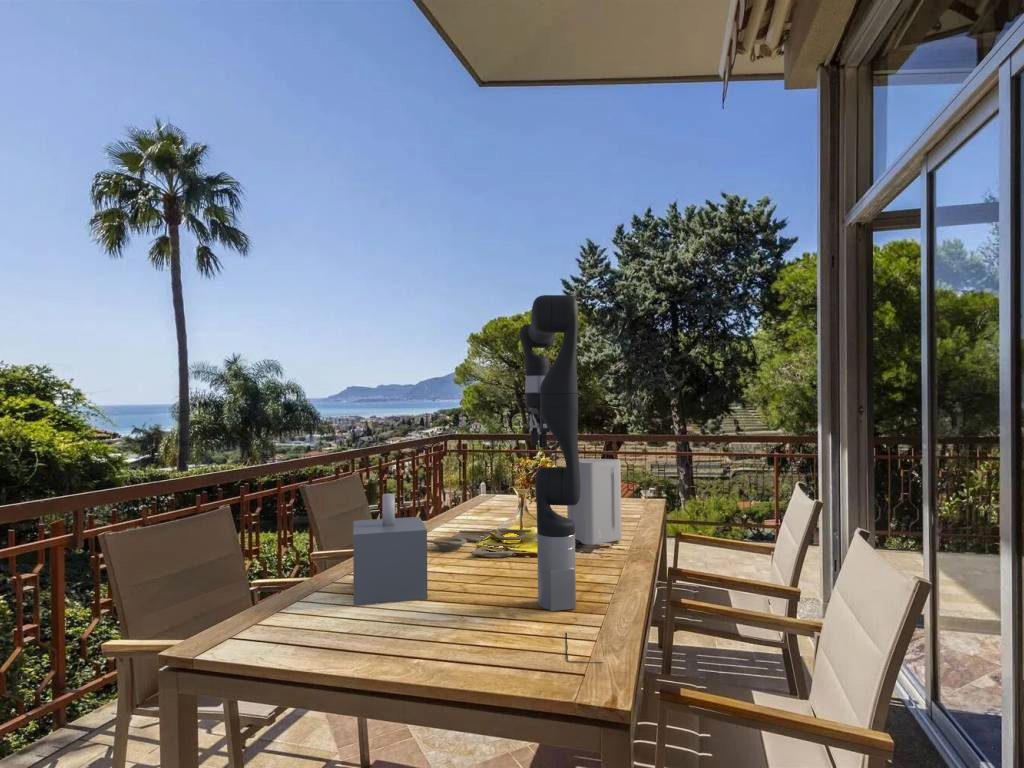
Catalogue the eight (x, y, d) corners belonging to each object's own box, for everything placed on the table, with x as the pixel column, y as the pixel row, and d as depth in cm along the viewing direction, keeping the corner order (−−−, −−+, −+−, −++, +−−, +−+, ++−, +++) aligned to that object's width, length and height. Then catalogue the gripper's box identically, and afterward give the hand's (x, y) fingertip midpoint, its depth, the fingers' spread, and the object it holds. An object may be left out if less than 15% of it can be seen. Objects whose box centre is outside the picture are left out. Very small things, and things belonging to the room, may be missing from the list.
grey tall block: (561, 543, 210) (560, 462, 211) (569, 534, 224) (568, 458, 225) (616, 546, 205) (615, 463, 206) (621, 536, 219) (620, 459, 220)
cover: (427, 599, 152) (426, 498, 153) (353, 605, 148) (353, 501, 148) (420, 578, 170) (419, 488, 170) (353, 584, 165) (353, 491, 166)
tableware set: (505, 562, 187) (505, 549, 188) (420, 555, 197) (420, 543, 197) (537, 538, 221) (537, 526, 221) (463, 533, 230) (463, 522, 230)
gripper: (519, 391, 185) (519, 445, 184) (532, 391, 171) (533, 448, 171) (542, 391, 187) (543, 444, 186) (557, 390, 173) (558, 447, 172)
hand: (538, 446), depth 178 cm, fingers open, 8 cm apart
